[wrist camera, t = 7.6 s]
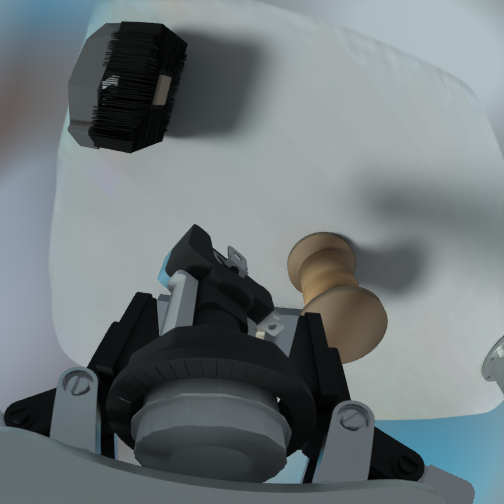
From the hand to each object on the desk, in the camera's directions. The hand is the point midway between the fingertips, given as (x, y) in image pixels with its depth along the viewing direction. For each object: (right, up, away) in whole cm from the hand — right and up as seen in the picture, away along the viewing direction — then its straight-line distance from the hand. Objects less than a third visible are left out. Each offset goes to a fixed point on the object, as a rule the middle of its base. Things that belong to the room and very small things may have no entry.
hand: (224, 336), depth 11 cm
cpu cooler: (-8, +18, +14) cm, 24 cm away
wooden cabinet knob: (+8, +2, +21) cm, 22 cm away
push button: (0, +2, +4) cm, 4 cm away
